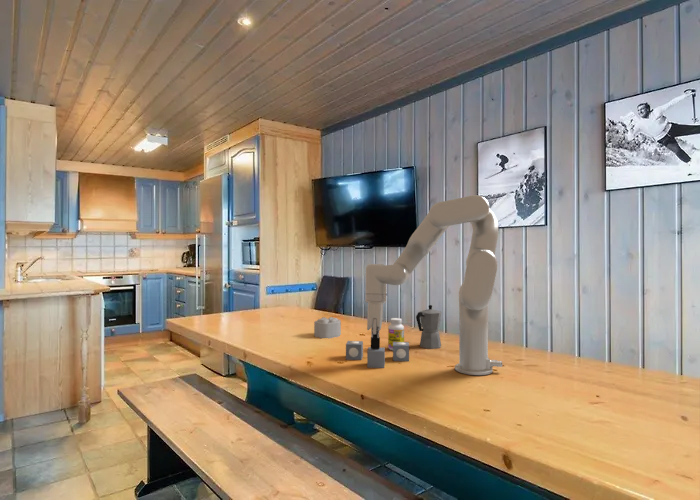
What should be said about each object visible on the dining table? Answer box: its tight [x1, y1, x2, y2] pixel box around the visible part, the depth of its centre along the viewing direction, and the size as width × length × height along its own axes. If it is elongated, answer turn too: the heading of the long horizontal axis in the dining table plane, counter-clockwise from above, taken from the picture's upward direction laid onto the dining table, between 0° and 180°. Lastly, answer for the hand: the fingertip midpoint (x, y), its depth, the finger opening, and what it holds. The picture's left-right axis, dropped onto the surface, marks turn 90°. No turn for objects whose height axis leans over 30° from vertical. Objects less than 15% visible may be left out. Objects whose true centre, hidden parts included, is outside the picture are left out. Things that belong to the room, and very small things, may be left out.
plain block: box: [366, 346, 386, 369], centre depth 156 cm, size 6×6×6 cm
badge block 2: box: [392, 341, 410, 362], centre depth 165 cm, size 6×6×6 cm
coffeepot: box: [415, 304, 442, 350], centre depth 185 cm, size 15×9×18 cm, turn 129°
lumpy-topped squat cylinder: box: [313, 316, 342, 339], centre depth 210 cm, size 10×13×9 cm
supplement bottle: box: [387, 317, 405, 351], centre depth 181 cm, size 7×7×13 cm
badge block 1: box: [345, 340, 364, 361], centre depth 167 cm, size 6×6×6 cm
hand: (375, 348), depth 156 cm, fingers closed
